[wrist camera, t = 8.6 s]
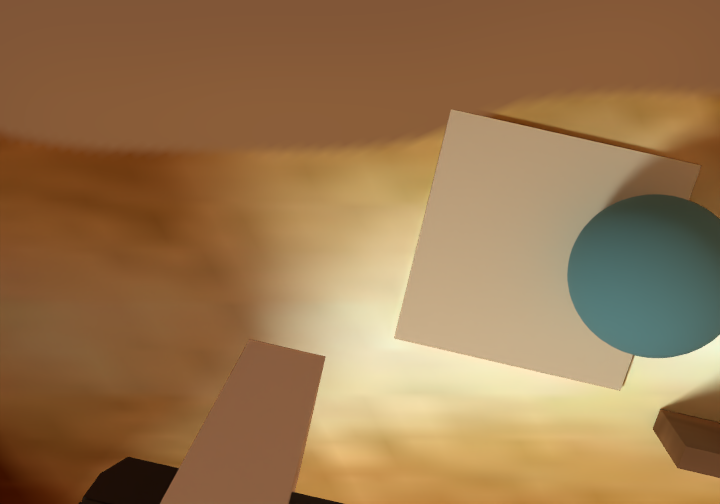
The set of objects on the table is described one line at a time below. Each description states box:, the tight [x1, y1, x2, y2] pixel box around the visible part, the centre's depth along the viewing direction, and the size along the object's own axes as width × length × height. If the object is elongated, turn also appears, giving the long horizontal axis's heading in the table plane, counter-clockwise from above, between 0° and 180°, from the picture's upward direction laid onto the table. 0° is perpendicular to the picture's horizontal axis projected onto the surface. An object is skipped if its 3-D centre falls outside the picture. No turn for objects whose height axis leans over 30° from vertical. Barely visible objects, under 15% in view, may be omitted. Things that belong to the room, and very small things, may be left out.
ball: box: [567, 194, 720, 358], centre depth 25 cm, size 6×6×6 cm
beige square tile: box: [394, 109, 701, 391], centre depth 28 cm, size 10×10×1 cm
